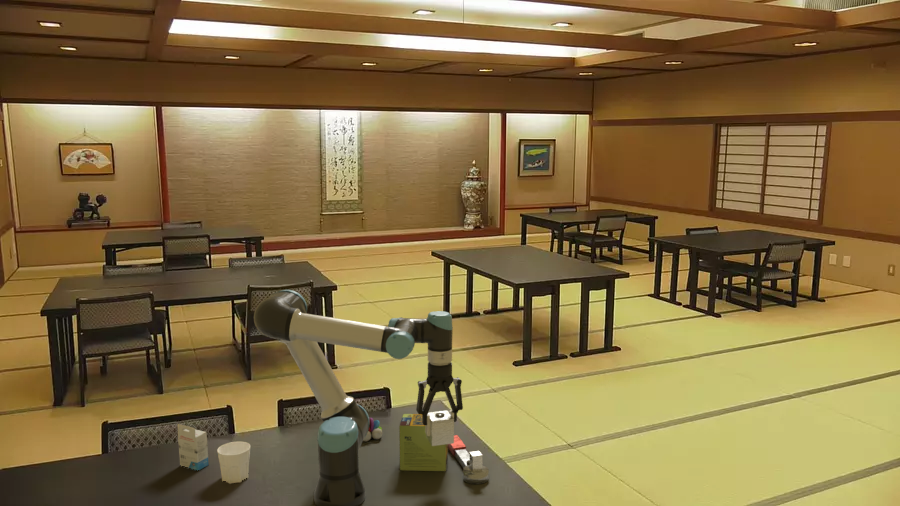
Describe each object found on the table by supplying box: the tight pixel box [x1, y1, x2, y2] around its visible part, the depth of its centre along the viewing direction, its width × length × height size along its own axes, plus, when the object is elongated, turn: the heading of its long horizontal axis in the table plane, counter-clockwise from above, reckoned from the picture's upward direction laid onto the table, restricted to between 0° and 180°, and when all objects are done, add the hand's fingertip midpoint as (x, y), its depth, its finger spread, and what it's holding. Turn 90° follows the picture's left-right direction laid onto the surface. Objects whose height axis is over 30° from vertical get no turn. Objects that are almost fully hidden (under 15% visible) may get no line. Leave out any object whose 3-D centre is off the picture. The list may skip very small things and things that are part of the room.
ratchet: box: [448, 434, 490, 485], centre depth 228 cm, size 8×31×8 cm, turn 17°
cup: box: [216, 441, 251, 485], centre depth 218 cm, size 10×10×10 cm
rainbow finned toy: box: [363, 417, 383, 442], centre depth 249 cm, size 8×10×7 cm
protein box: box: [398, 413, 449, 472], centre depth 227 cm, size 10×15×16 cm
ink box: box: [177, 423, 209, 472], centre depth 226 cm, size 8×5×15 cm, turn 62°
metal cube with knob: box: [426, 410, 455, 446], centre depth 213 cm, size 7×7×8 cm
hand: (439, 432), depth 214 cm, fingers closed on metal cube with knob, 7 cm apart
